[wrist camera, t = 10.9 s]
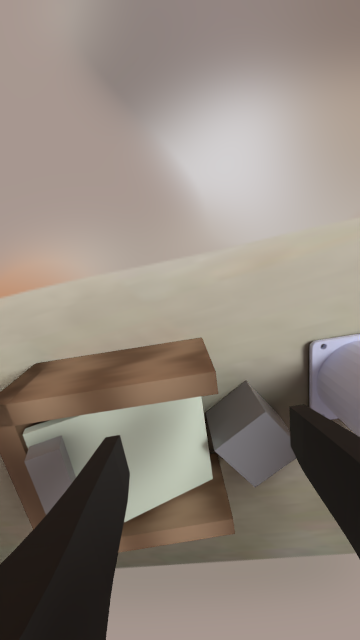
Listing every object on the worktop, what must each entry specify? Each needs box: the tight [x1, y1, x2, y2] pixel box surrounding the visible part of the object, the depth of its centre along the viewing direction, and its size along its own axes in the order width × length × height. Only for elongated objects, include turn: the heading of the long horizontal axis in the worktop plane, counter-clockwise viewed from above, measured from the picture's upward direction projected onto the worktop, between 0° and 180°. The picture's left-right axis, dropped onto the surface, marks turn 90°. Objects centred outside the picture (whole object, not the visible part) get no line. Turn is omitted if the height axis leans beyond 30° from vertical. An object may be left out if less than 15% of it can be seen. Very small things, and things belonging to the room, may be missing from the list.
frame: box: [0, 338, 235, 552], centre depth 19 cm, size 14×14×6 cm
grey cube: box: [206, 381, 296, 487], centre depth 20 cm, size 4×5×5 cm
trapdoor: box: [23, 396, 213, 522], centre depth 17 cm, size 12×10×2 cm
